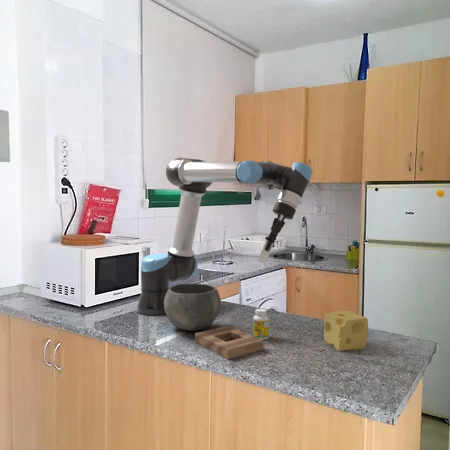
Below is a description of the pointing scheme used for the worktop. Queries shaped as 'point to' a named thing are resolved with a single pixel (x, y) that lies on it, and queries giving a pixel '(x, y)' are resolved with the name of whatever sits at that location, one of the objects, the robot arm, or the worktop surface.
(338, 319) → the cheese
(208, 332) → the well board
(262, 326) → the supplement bottle
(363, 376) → the worktop surface
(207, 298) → the bowl
